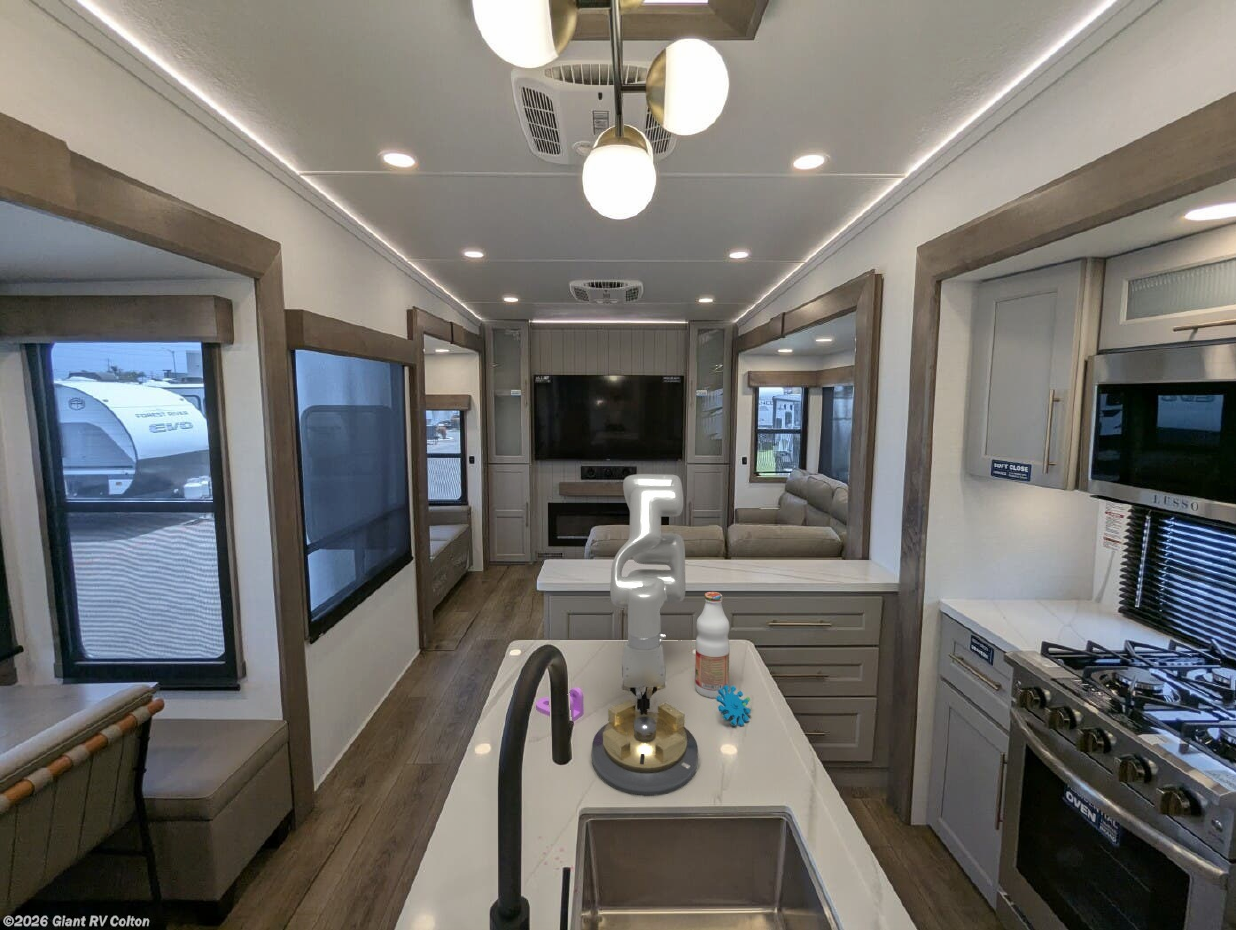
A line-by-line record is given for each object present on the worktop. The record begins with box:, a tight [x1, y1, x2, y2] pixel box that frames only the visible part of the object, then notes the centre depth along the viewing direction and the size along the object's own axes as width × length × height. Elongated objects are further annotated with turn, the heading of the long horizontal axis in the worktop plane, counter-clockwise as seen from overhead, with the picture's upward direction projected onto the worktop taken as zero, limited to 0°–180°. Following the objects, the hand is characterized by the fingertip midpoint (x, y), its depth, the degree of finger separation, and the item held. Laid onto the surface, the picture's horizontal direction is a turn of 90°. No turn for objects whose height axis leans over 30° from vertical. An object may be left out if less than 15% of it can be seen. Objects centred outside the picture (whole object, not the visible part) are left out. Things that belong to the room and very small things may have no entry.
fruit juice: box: [694, 591, 731, 699], centre depth 146 cm, size 9×9×28 cm
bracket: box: [535, 686, 585, 723], centre depth 137 cm, size 13×6×7 cm, turn 57°
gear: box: [715, 685, 751, 727], centre depth 135 cm, size 11×6×10 cm
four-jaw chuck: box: [603, 699, 687, 773], centre depth 119 cm, size 19×19×5 cm
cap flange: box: [591, 721, 699, 797], centre depth 119 cm, size 24×24×3 cm
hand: (643, 711), depth 127 cm, fingers closed
